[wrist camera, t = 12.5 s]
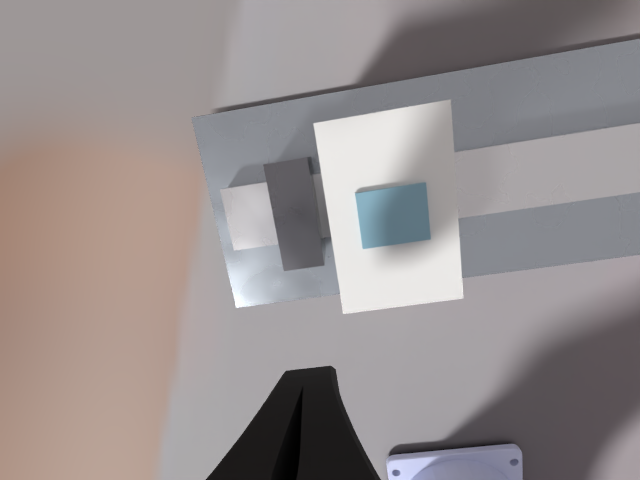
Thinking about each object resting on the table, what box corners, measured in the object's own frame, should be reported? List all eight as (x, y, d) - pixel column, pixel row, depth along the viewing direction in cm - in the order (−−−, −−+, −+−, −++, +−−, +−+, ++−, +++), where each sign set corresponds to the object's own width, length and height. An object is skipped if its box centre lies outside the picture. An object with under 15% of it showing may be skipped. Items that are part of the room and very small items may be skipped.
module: (426, 258, 17) (465, 300, 12) (340, 270, 18) (343, 316, 13) (414, 116, 16) (453, 98, 11) (319, 133, 16) (312, 122, 11)
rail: (740, 239, 17) (835, 258, 14) (237, 305, 19) (218, 336, 15) (773, 16, 14) (899, -24, 11) (193, 118, 16) (160, 109, 13)
